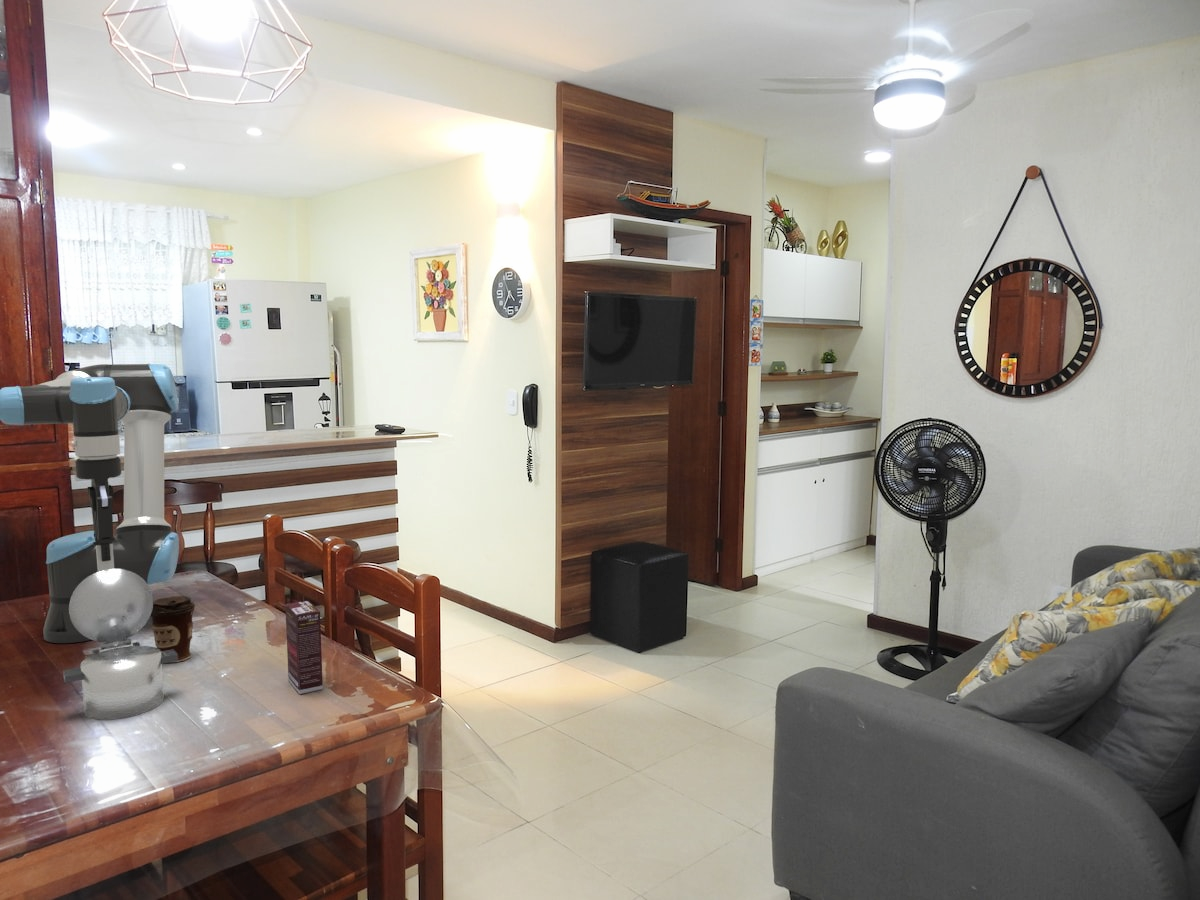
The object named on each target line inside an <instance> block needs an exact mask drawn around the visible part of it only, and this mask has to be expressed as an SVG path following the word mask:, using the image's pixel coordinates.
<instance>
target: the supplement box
mask: <svg viewBox="0 0 1200 900" xmlns="http://www.w3.org/2000/svg"><path fill="white" fill-rule="evenodd" d="M285 624H286V625H285V626H286V628H285V629H286V648H287V649H286V651H287V653H286V654H287V655H286V656H287V677H288V682H289V683H290V685H292V687H293V688H294V689H295V691H296V692H297V693H298V694H299V695H301V694H302V695H303V694H307V693H313V692H318V691H321V690H323V689H324V685H323V683H324V682H323V659H322V658H323V657H322V655H323V654H322V630H321V629H322V628H321V611H320V610H319V609H318V608H317V607H316V606H315V605H314V604H313V603H311V602H310V601H309V600H303V601H302V600H301V601H297V602H292V603H291V602H290V603H286V604H285Z"/></svg>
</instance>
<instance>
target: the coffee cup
mask: <svg viewBox="0 0 1200 900" xmlns="http://www.w3.org/2000/svg"><path fill="white" fill-rule="evenodd" d="M191 600H192V599H191V597H189V596H185V595H181V596H179V595H178V596H171V597H161V598H158V599H155V600H153V609H152V613H151V615H150V618H151V620H152V622H151V626H152V632H153V640H154V643H155V648H158V649H159V650H160V651H166V650H172V649H174V650H175V651H176V653H177V654H178V661H173V662H172V663H179V662H184V661H187V660H189V659H190V658H192V653H191V652H190V646H191V641H192V638H193V628H194V627H193V626H194V623H193V614H194V610H195V604H194V603H193V602H192V601H191ZM169 663H171V662H168V663H167V664H169Z"/></svg>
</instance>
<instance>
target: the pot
mask: <svg viewBox="0 0 1200 900" xmlns="http://www.w3.org/2000/svg"><path fill="white" fill-rule="evenodd" d="M91 653H92V654H91V655H90V656H88V657H86V658H85V659H83V660H82V661H81V663H80V666H78V667H75V668H74V667H73V668H71V669H65V670H64V669H63V670H62V672H63V680H64V683H65V684H68V683H73V682H79V681H81V687H82V688H81V689H82V701H83V712H84V716H86V717H87V718H90V719H92V720H99V721H100V720H101V721H107V720H108V721H109V720H111V721H112V720H119V719H126V718H131V717H134V716H139V715H142V714H145V713H147V712H149V711H151V710H153V709H155V708H158V706H160V705H161V704H162V703H163V702H164V699H165V693H164V691H165V690H164V680H163V679H164V678H163V664H169V663H168V662H170V663H174V662H173V661H178V654H177V653H176V651H175V650H174V649H172V650H166V651H160V650H159V649H158V648H157V647H156V646H150V645H141V644H140V642H139V641H136V642H132V645H129V646H128V645H127V646H120V647H115V648H110V649H105V650H102V651H100V650H99V649H92V650H91Z"/></svg>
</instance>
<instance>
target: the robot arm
mask: <svg viewBox="0 0 1200 900" xmlns="http://www.w3.org/2000/svg"><path fill="white" fill-rule="evenodd" d="M176 387H177V386H176V382H175V378H174V374H173V372H172V370H171V368H170V367H169V366H167V365H165V364H154V363H141V364H140V363H139V364H137V363H135V364H133V363H132V364H130V363H128V364H127V363H123V364H120V363H119V364H115V363H113V364H107V363H105V364H93V365H88V366H84V367H80V368H76V369H71V370H68V371H64V372H63V373H61V374H60V375H58V376H57V377H56V378H55V379H53V380H50V381H49V380H48V381H46V382H42V383H39V384H34V385H29V386H28V385H27V386H20V385H16V386H6V387H1V389H0V421H1V423H3V424H5V425H14V426H15V425H16V426H24V425H27V426H28V425H48V424H49V425H50V424H52V425H53V424H62V425H63V424H72V429H73V439H74V440H71V441H70V446H71V447H74V455H75V457H78V458H77V459H76V460H75V472H76V473H75V474H76V477H77V478H78V479H79V480H90V481H91V483H90V484H91V485H90V486H87V495H88V496H89V506H90V508H91V514H92V527H93V530H87V531H82V532H76V533H72V534H71V533H70V534H68V535H64V536H62V537H58V538H57V539H54V540H52V541H50V542H49V543H48V545H47V547H46V561H45V564H46V567H47V578H48V579H47V581H48V589H49V590H48V591H49V601H50V602H49V608H48V612H47V614H46V619H45V622H44V626H43V632H42V633H43V640H45V641H46V642H49V643H52V644H53V643H54V644H55V643H56V644H72V643H80V642H81V643H82V642H87V641H92V640H91V639H89V638H87V637H85V636H83V635H82V634H81V633H80V632H79V631H78V630H77V629H76V628H75V627H74V625H73V623H72V621H71V618H70V614H69V604H70V599H71V596H72V594H73V592H74V591H75V589H76V587H77V586H78V585H79V584H80V583H81V582H82V581H83V580H84V579H86V578H87V577H88V576H90V575H92V574H94V573H96V572H98V571H102V570H106V569H124V570H128V571H131V572H133V573H135V574H137V575H139V576H140V577H141V578H143V579H144V580H145V581H146V583H147V584H148V585H149V586H150V585H153V584H157V583H158V584H159V583H165V582H166V583H167V582H169V580H171V579H172V578H173V576H174V575H175V573H176V569H177V564H178V559H179V552H180V546H179V543H180V538H179V534H178V533H177V532H174V531H172V524H170V523H169V522H167V520H166V519H165V425H166V424H167V423H168V422H169V421H170V420H171V419H172V412H175V411H178V410H179V398H178V392H177V388H176ZM119 421H120V422H121V423H123V425H124V426H123V427H124V431H123V432H124V435H123V436H124V442H123V443H124V444H123V445H124V446H123V447H124V448H123V449H124V451H123V461H124V462H123V468H124V469H123V521H122V522H121V523H120V524H119V525H118V526H117V527H116V529H115V536H114V521H113V508H114V506H113V505H114V504H113V500H114V498H113V496H114V487H113V486H112V485H111V484H110V483H109V479H110V478H112V479H113V478H117V477H120V476H121V475H122V463H121V461H122V459H121V458H120V456H118V455H120V454H121V445H120V444H121V443H120V441H121V440H120V433H119V424H118V422H119Z"/></svg>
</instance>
